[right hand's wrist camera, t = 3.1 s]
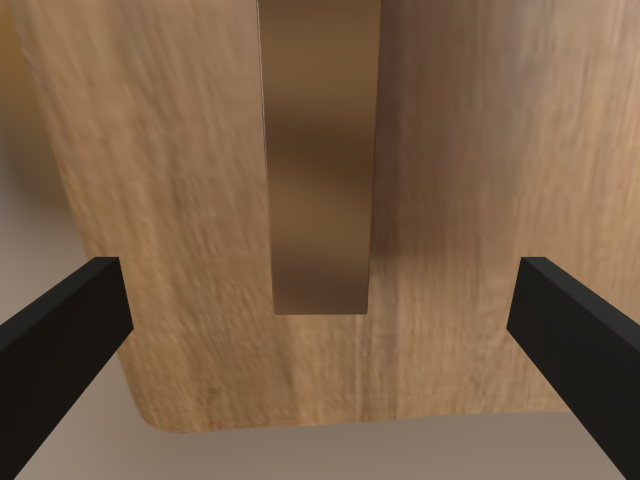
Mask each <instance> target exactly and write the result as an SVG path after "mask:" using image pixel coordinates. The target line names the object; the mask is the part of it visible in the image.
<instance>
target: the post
mask: <svg viewBox="0 0 640 480" xmlns="http://www.w3.org/2000/svg"><path fill="white" fill-rule="evenodd" d="M256 6H257V24H258V42H259V59H260V77H261V95H262V113H263V131H264V148H265V166H266V184H267V202H268V219H269V237H270V255H271V273H272V291H273V308H274V314H275V315H308V314H367V309H368V288H369V267H370V246H371V225H372V204H373V184H374V163H375V142H376V121H377V100H378V79H379V59H380V38H381V17H382V0H256Z"/></svg>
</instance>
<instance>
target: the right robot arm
mask: <svg viewBox="0 0 640 480" xmlns="http://www.w3.org/2000/svg"><path fill="white" fill-rule="evenodd" d="M133 329H134V327H133V323H132V318H131V313H130V308H129V304H128V299H127V294H126V290H125V285H124V280H123V275H122V271H121V266H120V261H119V257H94V258H93V259H92V260H90V261H89V262H87V263H86V264H85V265H83V266H82V267H81V268H79V269H78V270H76V271H75V272H74V273H72V274H71V275H69V276H68V277H67V278H65V279H64V280H63V281H61V282H60V283H58V284H57V285H56V286H54V287H53V288H51V289H50V290H49V291H47V292H46V293H44V294H43V295H42V296H40V297H39V298H38V299H36V300H35V301H33V302H32V303H31V304H29V305H28V306H26V307H25V308H24V309H22V310H21V311H20V312H18V313H17V314H15V315H14V316H13V317H11V318H10V319H8V320H7V321H6V322H4V323H3V324H2V325H0V480H14V478H15V477H16V476H17V475H18V473H19V472H20V471H21V470H22V468H23V467H24V466H25V465H26V463H27V462H28V461H29V460H30V458H31V457H32V456H33V455H34V453H35V452H36V451H37V450H38V448H39V447H40V446H41V445H42V443H43V442H44V441H45V440H46V438H47V437H48V436H49V435H50V433H51V432H52V431H53V429H54V428H55V427H56V426H57V424H58V423H59V422H60V421H61V419H62V418H63V417H64V416H65V414H66V413H67V412H68V411H69V409H70V408H71V407H72V406H73V404H74V403H75V402H76V401H77V399H78V398H79V397H80V396H81V394H82V393H83V392H84V391H85V389H86V388H87V387H88V386H89V384H90V383H91V382H92V380H93V379H94V378H95V377H96V375H97V374H98V373H99V372H100V370H101V369H102V368H103V367H104V365H105V364H106V363H107V362H108V360H109V359H110V358H111V357H112V355H113V354H114V353H115V352H116V350H117V349H118V348H119V347H120V345H121V344H122V343H123V342H124V340H125V339H126V338H127V337H128V335H129V334H130V333H131V331H132V330H133ZM506 329H507V330H508V331H509V333H510V334H511V335H512V337H513V338H514V339H515V340H516V342H517V343H518V344H519V345H520V347H521V348H522V349H523V350H524V352H525V353H526V354H527V355H528V357H529V358H530V359H531V360H532V362H533V363H534V364H535V365H536V367H537V368H538V369H539V370H540V372H541V373H542V374H543V375H544V377H545V378H546V379H547V380H548V382H549V383H550V384H551V386H552V387H553V388H554V389H555V391H556V392H557V393H558V394H559V396H560V397H561V398H562V399H563V401H564V402H565V403H566V404H567V406H568V407H569V408H570V409H571V411H572V412H573V413H574V414H575V416H576V417H577V418H578V419H579V421H580V422H581V423H582V424H583V426H584V427H585V428H586V429H587V431H588V432H589V433H590V435H591V436H592V437H593V438H594V439H595V441H596V442H597V443H598V445H599V446H600V447H601V448H602V450H603V451H604V452H605V453H606V455H607V456H608V457H609V458H610V460H611V461H612V462H613V463H614V465H615V466H616V467H617V468H618V470H619V471H620V472H621V473H622V475H623V476H624V477H625V478H626V480H640V325H638V324H637V323H636V322H634V321H633V320H632V319H630V318H629V317H627V316H626V315H625V314H623V313H622V312H620V311H619V310H618V309H616V308H615V307H614V306H612V305H611V304H609V303H608V302H607V301H605V300H604V299H602V298H601V297H600V296H598V295H597V294H596V293H594V292H593V291H591V290H590V289H589V288H587V287H586V286H584V285H583V284H582V283H580V282H579V281H578V280H576V279H575V278H573V277H572V276H571V275H569V274H568V273H566V272H565V271H564V270H562V269H561V268H560V267H558V266H557V265H555V264H554V263H553V262H551V261H550V260H548V259H547V258H546V257H521V261H520V266H519V271H518V275H517V280H516V285H515V289H514V294H513V299H512V304H511V308H510V313H509V318H508V323H507V327H506Z"/></svg>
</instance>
